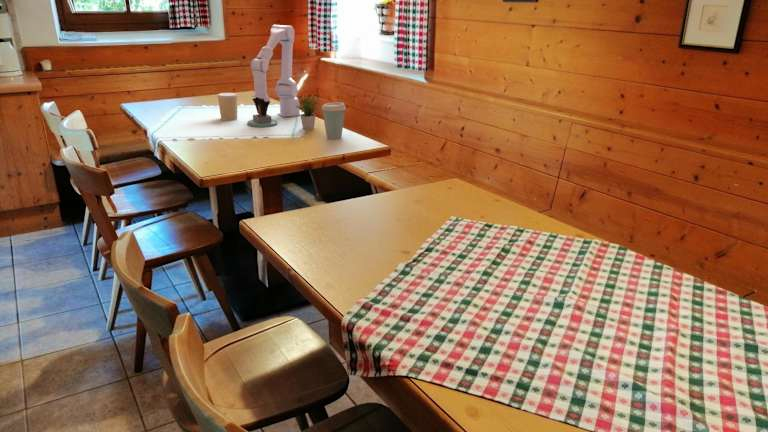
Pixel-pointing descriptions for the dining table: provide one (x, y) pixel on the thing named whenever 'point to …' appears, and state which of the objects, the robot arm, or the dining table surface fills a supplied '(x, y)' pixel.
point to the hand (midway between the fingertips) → (261, 114)
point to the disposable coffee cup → (334, 119)
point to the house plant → (308, 112)
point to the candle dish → (262, 121)
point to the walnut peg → (260, 112)
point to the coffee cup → (228, 106)
